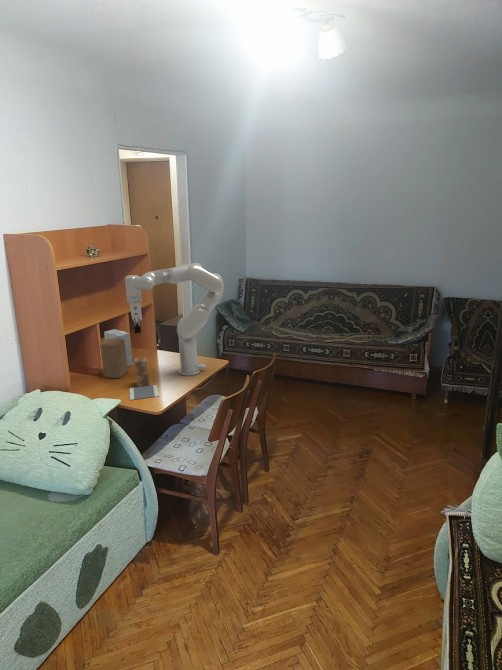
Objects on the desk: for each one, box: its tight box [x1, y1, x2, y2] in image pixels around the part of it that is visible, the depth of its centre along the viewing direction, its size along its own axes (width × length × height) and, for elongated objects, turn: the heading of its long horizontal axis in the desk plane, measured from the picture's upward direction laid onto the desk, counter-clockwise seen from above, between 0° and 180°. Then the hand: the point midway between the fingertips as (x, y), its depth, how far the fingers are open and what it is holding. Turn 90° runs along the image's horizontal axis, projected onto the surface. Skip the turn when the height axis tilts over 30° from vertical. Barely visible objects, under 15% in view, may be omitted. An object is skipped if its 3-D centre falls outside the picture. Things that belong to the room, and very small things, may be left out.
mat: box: [129, 384, 160, 401], centre depth 232 cm, size 14×14×1 cm
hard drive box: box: [103, 328, 133, 368], centre depth 268 cm, size 16×8×20 cm, turn 49°
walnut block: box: [134, 356, 150, 387], centre depth 240 cm, size 6×6×14 cm
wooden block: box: [99, 339, 129, 379], centre depth 253 cm, size 10×10×20 cm
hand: (137, 330), depth 248 cm, fingers open, 6 cm apart
